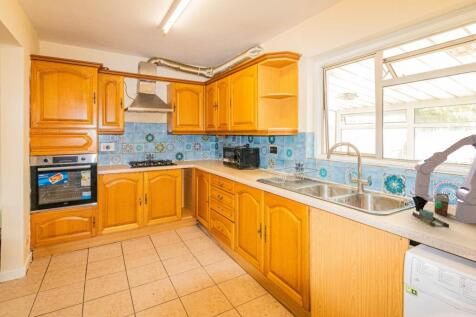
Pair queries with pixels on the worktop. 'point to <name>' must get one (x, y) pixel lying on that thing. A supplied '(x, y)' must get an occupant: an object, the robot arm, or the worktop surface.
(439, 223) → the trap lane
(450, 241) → the worktop surface
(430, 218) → the teal block
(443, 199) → the food container
